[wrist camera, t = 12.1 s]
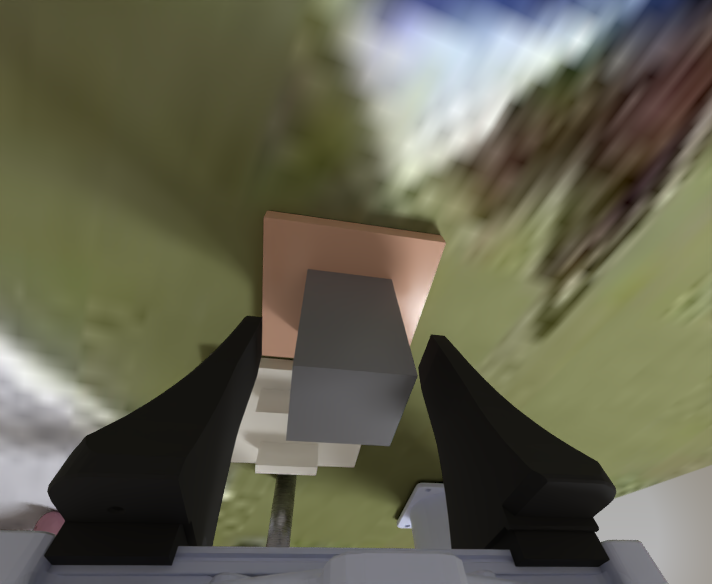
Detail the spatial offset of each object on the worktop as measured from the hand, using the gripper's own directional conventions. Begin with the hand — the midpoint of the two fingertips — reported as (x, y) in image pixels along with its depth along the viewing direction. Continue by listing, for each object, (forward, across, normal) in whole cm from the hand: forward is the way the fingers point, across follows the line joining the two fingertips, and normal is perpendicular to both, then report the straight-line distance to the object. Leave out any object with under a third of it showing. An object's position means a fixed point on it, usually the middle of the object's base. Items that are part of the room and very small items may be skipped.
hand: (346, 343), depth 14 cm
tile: (+4, 0, 0) cm, 4 cm away
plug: (+3, 0, 0) cm, 3 cm away
